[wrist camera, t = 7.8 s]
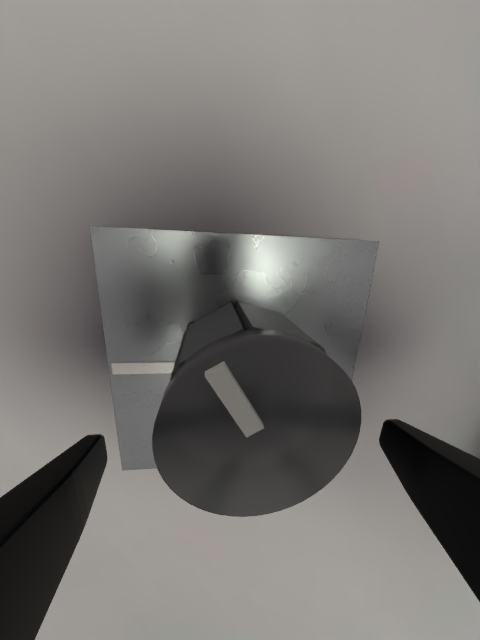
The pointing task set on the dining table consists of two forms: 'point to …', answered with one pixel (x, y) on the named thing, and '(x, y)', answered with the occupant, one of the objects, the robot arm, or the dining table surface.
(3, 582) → the robot arm
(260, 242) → the mounting plate
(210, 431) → the knob
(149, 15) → the dining table surface
